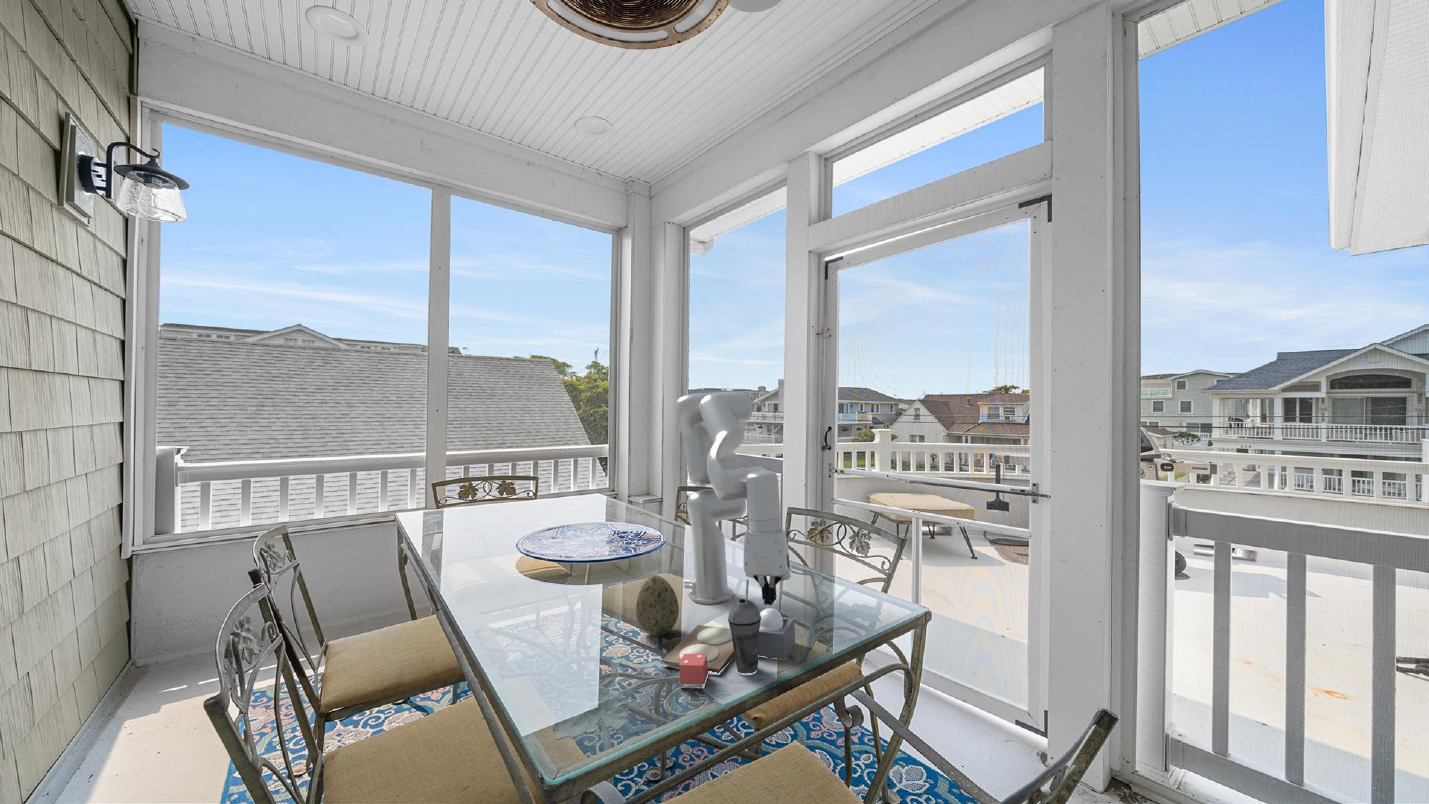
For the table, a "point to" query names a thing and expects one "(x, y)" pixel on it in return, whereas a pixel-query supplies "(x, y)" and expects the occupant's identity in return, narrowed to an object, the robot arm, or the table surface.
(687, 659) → the die
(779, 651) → the housing
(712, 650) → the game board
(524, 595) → the table surface
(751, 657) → the beverage cup
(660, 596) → the decorative egg
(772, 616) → the white ball
